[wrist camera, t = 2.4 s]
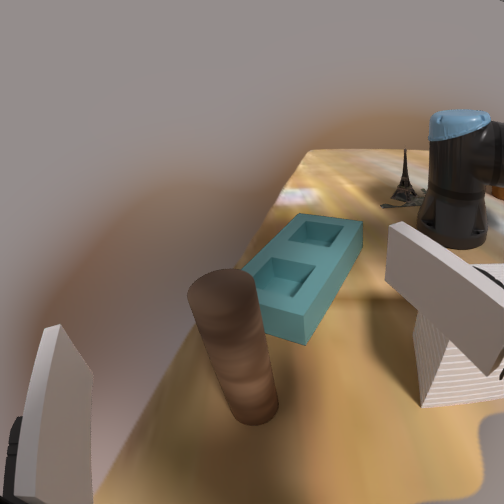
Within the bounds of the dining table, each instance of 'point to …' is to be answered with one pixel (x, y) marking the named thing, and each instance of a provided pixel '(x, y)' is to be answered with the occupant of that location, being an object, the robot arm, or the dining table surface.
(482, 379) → the stack of papers
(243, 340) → the walnut pin
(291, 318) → the bore block
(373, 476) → the dining table surface
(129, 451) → the dining table surface
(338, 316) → the dining table surface
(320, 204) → the dining table surface
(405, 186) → the eiffel tower figurine
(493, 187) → the disposable coffee cup
